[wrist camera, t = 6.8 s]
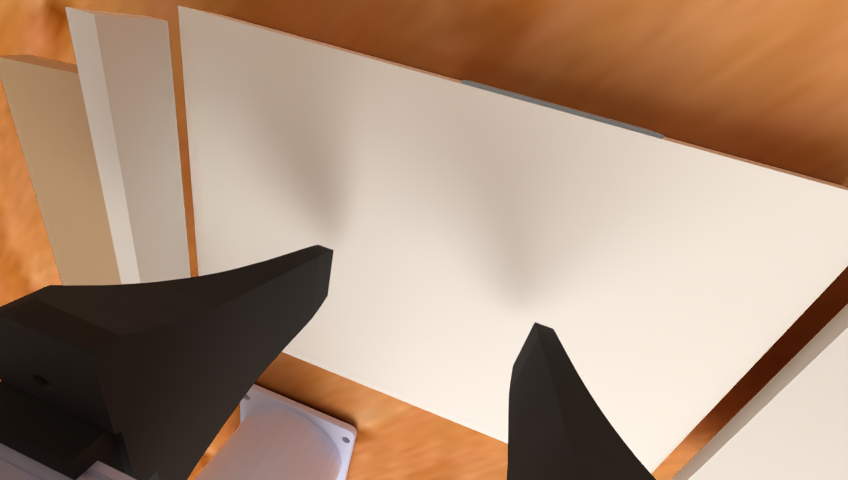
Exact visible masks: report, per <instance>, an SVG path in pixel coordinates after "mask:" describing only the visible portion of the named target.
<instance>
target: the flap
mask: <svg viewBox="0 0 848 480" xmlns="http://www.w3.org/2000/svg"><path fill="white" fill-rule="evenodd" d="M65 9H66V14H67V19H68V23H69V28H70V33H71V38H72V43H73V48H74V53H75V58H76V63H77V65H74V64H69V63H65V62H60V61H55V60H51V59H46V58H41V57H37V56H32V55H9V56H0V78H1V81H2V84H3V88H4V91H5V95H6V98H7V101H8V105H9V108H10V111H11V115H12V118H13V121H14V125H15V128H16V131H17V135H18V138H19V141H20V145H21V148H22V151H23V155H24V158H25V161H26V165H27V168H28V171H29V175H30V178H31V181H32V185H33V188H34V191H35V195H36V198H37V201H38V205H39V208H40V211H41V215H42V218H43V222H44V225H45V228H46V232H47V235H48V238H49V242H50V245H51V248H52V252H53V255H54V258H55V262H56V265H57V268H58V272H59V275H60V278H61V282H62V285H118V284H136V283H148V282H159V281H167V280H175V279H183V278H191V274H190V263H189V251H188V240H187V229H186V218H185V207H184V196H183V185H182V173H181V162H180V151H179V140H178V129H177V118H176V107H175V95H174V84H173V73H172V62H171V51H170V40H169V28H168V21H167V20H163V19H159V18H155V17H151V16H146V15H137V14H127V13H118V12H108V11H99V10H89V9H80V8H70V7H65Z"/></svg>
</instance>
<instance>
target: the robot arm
mask: <svg viewBox="0 0 848 480" xmlns="http://www.w3.org/2000/svg"><path fill="white" fill-rule="evenodd" d="M333 251H334V250H332V249H329V248H326V247H323V246H321V245H314V246H311V247H307V248H304V249H301V250H298V251H294V252H291V253H288V254H285V255H282V256H279V257H275V258H272V259H269V260H266V261H262V262H259V263H255V264H251V265H247V266H244V267H240V268H236V269H232V270H228V271H223V272H219V273H214V274H208V275H203V276H197V277H191V278H183V279H175V280H167V281H159V282H148V283H136V284H118V285H49V286H47V287H44V288H42V289H40V290H37V291H35V292H33V293H31V294H28V295H26V296H24V297H22V298H19V299H17V300H15V301H13V302H10V303H8V304H6V305H4V306H1V307H0V379H1V382H0V480H187V479H188V477H189V476H190V474H191V472H192V471H193V469H194V468H195V466H196V465H197V463H198V462H199V460H200V459H201V457H202V456H203V454H204V453H205V451H206V450H207V448H208V447H209V446H210V444H211V443H212V441H213V440H214V438H215V437H216V435H217V434H218V432H219V431H220V429H221V428H222V427H223V425H224V424H225V422H226V421H227V420H228V418H229V417H230V415H231V414H232V413H233V411H234V410H235V409H236V407H237V406H238V404H239V403H240V425H239V426H238V428H237V429H236V430H235V431H234V432H233V434H232V435H231V436H230V437H229V438H228V440H227V441H226V442H225V443H224V444H223V446H222V447H221V448H220V449H219V450H218V452H217V453H216V454H215V455H214V456H213V458H212V459H211V460H210V461H209V462H208V464H207V465H206V466H205V467H204V468H203V470H202V471H201V472H200V473H199V475H198V476H197V477H196V478H195V479H194V480H346V478H347V473H348V469H349V465H350V461H351V456H352V452H353V448H354V444H355V439H356V435H357V431H356V429H355V427H353V426H352V425H350V424H347V423H345V422H343V421H340V420H338V419H336V418H333V417H331V416H329V415H326V414H324V413H321V412H319V411H317V410H314V409H312V408H310V407H307V406H305V405H303V404H300V403H298V402H296V401H293V400H291V399H288V398H286V397H284V396H281V395H279V394H277V393H274V392H272V391H270V390H267V389H265V388H262V387H260V386H258V385H255V384H254V383H255V382H256V380H257V379H258V378H259V376H260V375H261V374H262V373H263V372H264V370H265V369H266V368H267V367H268V366H269V365H270V363H271V362H272V361H273V360H274V359H275V358H276V357H277V356H278V355H279V354H280V353H281V352H282V351H283V350H284V348H285V347H286V346H287V345H288V344H289V343H290V342H291V341H292V340H293V339H294V338H295V337H296V336H297V334H298V333H299V332H300V331H301V330H302V329H303V328H304V327H305V326H306V325H307V324H308V322H309V321H310V320H311V319H312V318H313V316H314V315H315V314H316V312H317V311H318V310H319V308H320V307H321V305H322V304H323V302H324V301H325V299H326V298H327V296H328V289H329V282H330V274H331V267H332V259H333ZM507 480H656V479H655V478H654V477H653V476H652V475H651V473H650V472H649V471H648V470H647V469H646V468H645V466H644V465H643V464H642V463H641V462H640V461H639V460H638V458H637V457H636V456H635V455H634V453H633V452H632V451H631V450H630V449H629V447H628V446H627V445H626V443H625V442H624V441H623V439H622V438H621V437H620V436H619V434H618V433H617V432H616V430H615V429H614V428H613V426H612V425H611V424H610V422H609V421H608V419H607V418H606V417H605V415H604V414H603V412H602V411H601V409H600V408H599V406H598V405H597V403H596V402H595V400H594V399H593V397H592V396H591V394H590V392H589V391H588V389H587V388H586V386H585V384H584V383H583V381H582V379H581V378H580V376H579V374H578V373H577V371H576V369H575V367H574V366H573V364H572V362H571V360H570V358H569V356H568V355H567V353H566V351H565V349H564V347H563V345H562V344H561V342H560V340H559V338H558V336H557V334H556V332H555V331H554V329H553V328H550V327H547V326H544V325H541V324H539V323H536V322H535V323H534V325H533V327H532V329H531V331H530V333H529V335H528V337H527V339H526V341H525V343H524V345H523V347H522V349H521V351H520V353H519V355H518V357H517V359H516V361H515V363H514V365H513V368H512V375H511V381H510V389H509V407H508V470H507Z"/></svg>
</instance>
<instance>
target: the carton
mask: <svg viewBox="0 0 848 480" xmlns="http://www.w3.org/2000/svg"><path fill="white" fill-rule="evenodd" d="M178 15H179V28H180V41H181V54H182V67H183V80H184V93H185V106H186V119H187V132H188V145H189V158H190V171H191V184H192V197H193V210H194V223H195V236H196V249H197V262H198V275H199V276H203V275H208V274H214V273H219V272H223V271H228V270H232V269H236V268H240V267H244V266H247V265H251V264H255V263H259V262H262V261H266V260H269V259H272V258H275V257H279V256H282V255H285V254H288V253H291V252H294V251H298V250H301V249H304V248H307V247H311V246H314V245H321V246H323V247H326V248H329V249H332V250H334V251H333V259H332V267H331V274H330V282H329V289H328V296H327V298H326V299H325V301H324V302H323V304H322V305H321V307H320V308H319V310H318V311H317V312H316V314H315V315H314V316H313V318H312V319H311V320H310V321H309V322H308V324H307V325H306V326H305V327H304V328H303V329H302V330H301V331H300V332H299V333H298V334H297V336H296V337H295V338H294V339H293V340H292V341H291V342H290V343H289V344H288V345H287V346H286V347H285V348H284V350H283V351H282V352H283V353H286V354H288V355H291V356H293V357H296V358H298V359H301V360H303V361H306V362H308V363H311V364H313V365H316V366H318V367H320V368H323V369H325V370H328V371H330V372H333V373H335V374H338V375H340V376H343V377H345V378H348V379H350V380H352V381H355V382H357V383H360V384H362V385H365V386H367V387H370V388H372V389H375V390H377V391H380V392H382V393H385V394H387V395H389V396H392V397H394V398H397V399H399V400H402V401H404V402H407V403H409V404H412V405H414V406H417V407H419V408H421V409H424V410H426V411H429V412H431V413H434V414H436V415H439V416H441V417H444V418H446V419H449V420H451V421H454V422H456V423H458V424H461V425H463V426H466V427H468V428H471V429H473V430H476V431H478V432H481V433H483V434H486V435H488V436H490V437H493V438H495V439H498V440H500V441H503V442H505V443H508V407H509V389H510V381H511V375H512V368H513V365H514V363H515V361H516V359H517V357H518V355H519V353H520V351H521V349H522V347H523V345H524V343H525V341H526V339H527V337H528V335H529V333H530V331H531V329H532V327H533V325H534V323H535V322H536V323H539V324H541V325H544V326H547V327H550V328H553V329H554V331H555V332H556V334H557V336H558V338H559V340H560V342H561V344H562V345H563V347H564V349H565V351H566V353H567V355H568V356H569V358H570V360H571V362H572V364H573V366H574V367H575V369H576V371H577V373H578V374H579V376H580V378H581V379H582V381H583V383H584V384H585V386H586V388H587V389H588V391H589V392H590V394H591V396H592V397H593V399H594V400H595V402H596V403H597V405H598V406H599V408H600V409H601V411H602V412H603V414H604V415H605V417H606V418H607V419H608V421H609V422H610V424H611V425H612V426H613V428H614V429H615V430H616V432H617V433H618V434H619V436H620V437H621V438H622V439H623V441H624V442H625V443H626V445H627V446H628V447H629V449H630V450H631V451H632V452H633V453H634V455H635V456H636V457H637V458H638V460H639V461H640V462H641V463H642V464H643V465H644V466H645V468H646V469H647V470H648V471H649V472H650V473H652V472H653V471H654V470H655V469H656V468H657V467H658V466H659V465H660V464H661V463H662V462H663V461H664V460H665V458H666V457H667V456H668V455H669V454H670V453H671V452H672V451H673V450H674V449H675V448H676V447H677V446H678V445H679V444H680V443H681V442H682V441H683V439H684V438H685V437H686V436H687V435H688V434H689V433H690V432H691V431H692V430H693V429H694V428H695V427H696V426H697V425H698V424H699V423H700V422H701V420H702V419H703V418H704V417H705V416H706V415H707V414H708V413H709V412H710V411H711V410H712V409H713V408H714V407H715V406H716V405H717V404H718V403H719V401H720V400H721V399H722V398H723V397H724V396H725V395H726V394H727V393H728V392H729V391H730V390H731V389H732V388H733V387H734V386H735V385H736V384H737V382H738V381H739V380H740V379H741V378H742V377H743V376H744V375H745V374H746V373H747V372H748V371H749V370H750V369H751V368H752V367H753V366H754V364H755V363H756V362H757V361H758V360H759V359H760V358H761V357H762V356H763V355H764V354H765V353H766V352H767V351H768V350H769V349H770V348H771V347H772V345H773V344H774V343H775V342H776V341H777V340H778V339H779V338H780V337H781V336H782V335H783V334H784V333H785V332H786V331H787V330H788V329H789V328H790V326H791V325H792V324H793V323H794V322H795V321H796V320H797V319H798V318H799V317H800V316H801V315H802V314H803V313H804V312H805V311H806V310H807V309H808V307H809V306H810V305H811V304H812V303H813V302H814V301H815V300H816V299H817V298H818V297H819V296H820V295H821V294H822V293H823V292H824V291H825V289H826V288H827V287H828V286H829V285H830V284H831V283H832V282H833V281H834V280H835V279H836V278H837V277H838V276H839V275H840V274H841V273H842V272H843V270H844V269H845V268H846V267H847V266H848V187H846V186H842V185H839V184H835V183H832V182H828V181H824V180H821V179H817V178H813V177H810V176H806V175H802V174H799V173H795V172H792V171H788V170H784V169H781V168H777V167H773V166H770V165H766V164H762V163H759V162H755V161H752V160H748V159H744V158H741V157H737V156H733V155H730V154H726V153H722V152H719V151H715V150H712V149H708V148H704V147H701V146H697V145H693V144H690V143H686V142H683V141H679V140H675V139H672V138H668V137H664V136H665V135H662V134H660V133H657V132H655V131H652V130H650V129H646V128H643V127H639V126H635V125H632V124H628V123H624V122H621V121H617V120H613V119H610V118H606V117H602V116H599V115H595V114H591V113H588V112H584V111H581V110H577V109H573V108H570V107H566V106H562V105H559V104H555V103H551V102H548V101H544V100H540V99H537V98H533V97H529V96H526V95H522V94H518V93H515V92H511V91H508V90H504V89H500V88H497V87H493V86H489V85H486V84H482V83H478V82H475V81H471V80H462V81H461V80H457V79H454V78H450V77H446V76H443V75H439V74H435V73H432V72H428V71H424V70H421V69H417V68H414V67H410V66H406V65H403V64H399V63H395V62H392V61H388V60H384V59H381V58H377V57H374V56H370V55H366V54H363V53H359V52H355V51H352V50H348V49H344V48H341V47H337V46H334V45H330V44H326V43H323V42H319V41H315V40H312V39H308V38H304V37H301V36H297V35H294V34H290V33H286V32H283V31H279V30H275V29H272V28H268V27H265V26H261V25H257V24H254V23H250V22H246V21H243V20H239V19H235V18H232V17H228V16H225V15H220V14H216V13H211V12H206V11H202V10H197V9H192V8H188V7H183V6H178Z"/></svg>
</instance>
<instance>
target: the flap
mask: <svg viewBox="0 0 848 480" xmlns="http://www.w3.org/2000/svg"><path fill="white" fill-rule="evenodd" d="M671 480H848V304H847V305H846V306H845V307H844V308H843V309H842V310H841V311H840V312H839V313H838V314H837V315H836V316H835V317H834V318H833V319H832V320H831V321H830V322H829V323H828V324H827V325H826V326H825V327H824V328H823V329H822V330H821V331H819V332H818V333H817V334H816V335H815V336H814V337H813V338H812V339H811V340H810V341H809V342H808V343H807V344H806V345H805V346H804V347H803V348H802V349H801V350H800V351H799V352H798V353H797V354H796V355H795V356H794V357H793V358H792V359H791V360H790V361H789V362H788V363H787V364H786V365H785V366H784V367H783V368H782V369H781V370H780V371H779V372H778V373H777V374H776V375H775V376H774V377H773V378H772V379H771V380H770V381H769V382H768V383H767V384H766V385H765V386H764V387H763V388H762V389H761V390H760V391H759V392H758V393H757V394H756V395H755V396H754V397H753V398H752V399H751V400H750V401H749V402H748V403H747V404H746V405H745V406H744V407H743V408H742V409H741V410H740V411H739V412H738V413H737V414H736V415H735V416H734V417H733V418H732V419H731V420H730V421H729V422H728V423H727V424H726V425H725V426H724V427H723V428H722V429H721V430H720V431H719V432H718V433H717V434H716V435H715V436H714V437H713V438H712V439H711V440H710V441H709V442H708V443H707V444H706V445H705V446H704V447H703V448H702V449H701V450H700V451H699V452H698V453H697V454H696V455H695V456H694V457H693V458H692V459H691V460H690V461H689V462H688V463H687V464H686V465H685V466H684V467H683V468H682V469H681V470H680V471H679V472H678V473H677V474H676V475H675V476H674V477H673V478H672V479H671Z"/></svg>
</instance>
